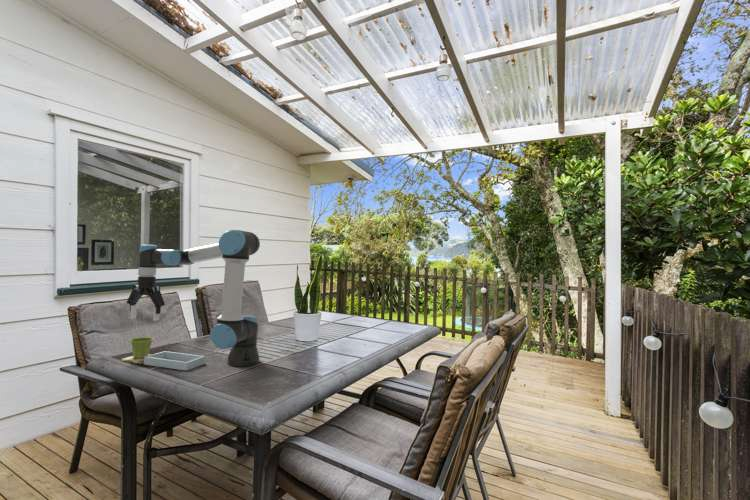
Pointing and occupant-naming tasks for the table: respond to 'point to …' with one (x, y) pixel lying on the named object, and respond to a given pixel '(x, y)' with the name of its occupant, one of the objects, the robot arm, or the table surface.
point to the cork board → (131, 359)
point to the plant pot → (141, 347)
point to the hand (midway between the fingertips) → (144, 319)
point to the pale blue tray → (163, 361)
